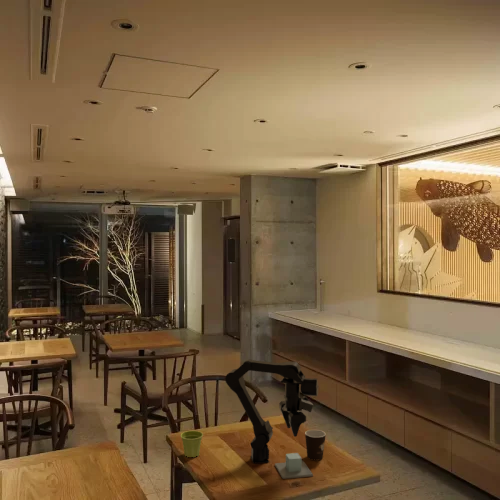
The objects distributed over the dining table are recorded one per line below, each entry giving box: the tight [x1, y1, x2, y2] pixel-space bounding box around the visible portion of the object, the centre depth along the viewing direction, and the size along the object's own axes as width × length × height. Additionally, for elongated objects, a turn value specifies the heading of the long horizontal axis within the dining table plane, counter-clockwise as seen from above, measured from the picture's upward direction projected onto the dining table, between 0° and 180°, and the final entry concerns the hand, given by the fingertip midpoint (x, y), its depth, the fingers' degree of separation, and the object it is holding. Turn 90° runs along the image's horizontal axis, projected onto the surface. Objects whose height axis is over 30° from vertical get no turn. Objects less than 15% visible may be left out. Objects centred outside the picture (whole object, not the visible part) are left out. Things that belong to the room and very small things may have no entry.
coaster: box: [274, 460, 314, 480], centre depth 203 cm, size 12×12×1 cm
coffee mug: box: [304, 429, 327, 461], centre depth 217 cm, size 12×9×10 cm
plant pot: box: [180, 430, 204, 458], centre depth 217 cm, size 9×9×9 cm
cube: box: [285, 452, 303, 472], centre depth 203 cm, size 5×5×5 cm
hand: (292, 432), depth 209 cm, fingers open, 9 cm apart
